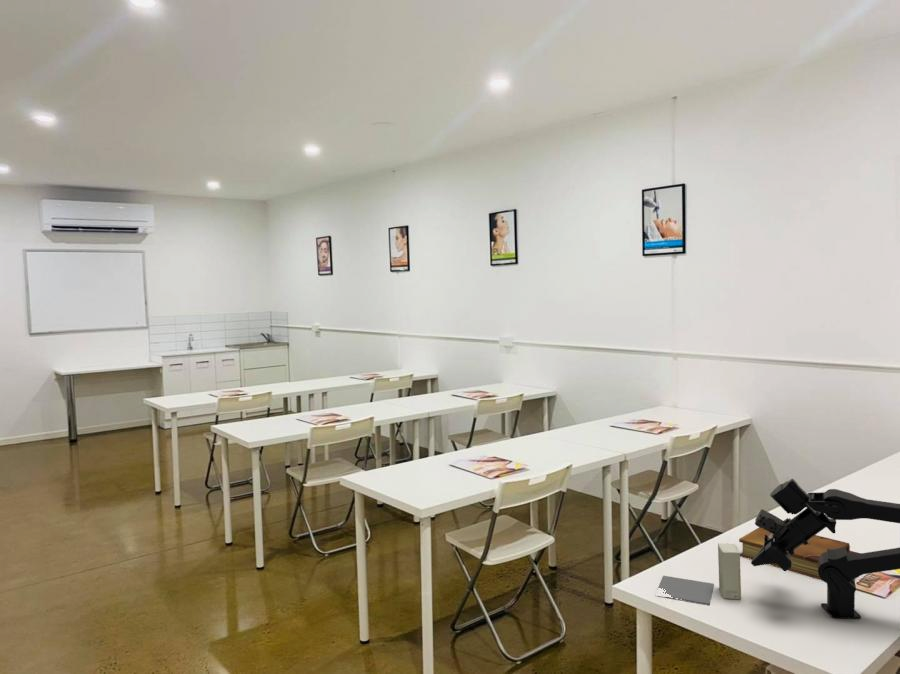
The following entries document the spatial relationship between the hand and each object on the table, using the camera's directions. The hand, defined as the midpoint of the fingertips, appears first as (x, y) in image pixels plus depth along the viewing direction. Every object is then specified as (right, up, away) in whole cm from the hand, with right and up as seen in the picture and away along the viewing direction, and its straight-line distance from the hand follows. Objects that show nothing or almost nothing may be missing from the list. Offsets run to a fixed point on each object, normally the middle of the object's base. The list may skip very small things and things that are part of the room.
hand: (752, 564), depth 166 cm
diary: (+23, -7, +23) cm, 33 cm away
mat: (-15, -9, +6) cm, 18 cm away
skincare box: (-4, -9, +3) cm, 10 cm away
